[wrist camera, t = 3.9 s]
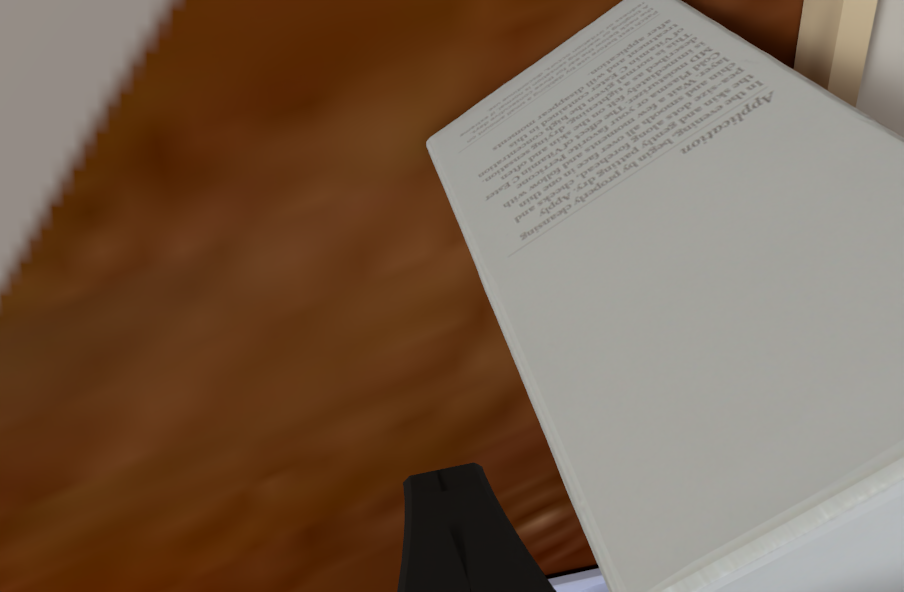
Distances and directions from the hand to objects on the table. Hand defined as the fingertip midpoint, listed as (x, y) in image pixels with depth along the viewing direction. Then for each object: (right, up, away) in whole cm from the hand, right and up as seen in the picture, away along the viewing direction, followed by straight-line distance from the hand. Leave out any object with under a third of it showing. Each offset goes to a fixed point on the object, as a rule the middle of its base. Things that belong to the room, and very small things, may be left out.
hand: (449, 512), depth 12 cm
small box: (+4, +6, +8) cm, 11 cm away
